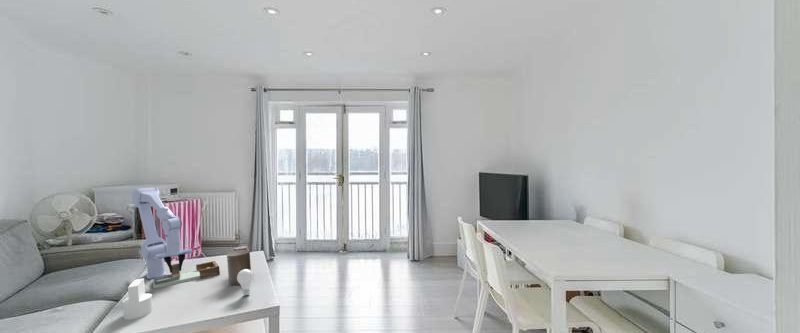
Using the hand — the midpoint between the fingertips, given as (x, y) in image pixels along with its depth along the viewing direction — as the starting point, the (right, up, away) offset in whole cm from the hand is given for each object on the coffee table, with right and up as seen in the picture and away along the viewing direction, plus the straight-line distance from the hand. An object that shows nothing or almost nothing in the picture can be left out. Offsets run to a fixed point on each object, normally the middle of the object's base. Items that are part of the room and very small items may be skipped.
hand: (175, 271), depth 168 cm
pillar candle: (+33, -4, -5) cm, 34 cm away
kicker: (0, -3, 0) cm, 3 cm away
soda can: (+29, -3, +7) cm, 30 cm away
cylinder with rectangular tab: (+8, -6, -34) cm, 36 cm away
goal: (+11, -4, +9) cm, 15 cm away
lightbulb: (+43, -4, -21) cm, 48 cm away
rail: (-3, -3, -2) cm, 5 cm away
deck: (+1, -4, +1) cm, 4 cm away
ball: (+11, -2, +9) cm, 14 cm away
